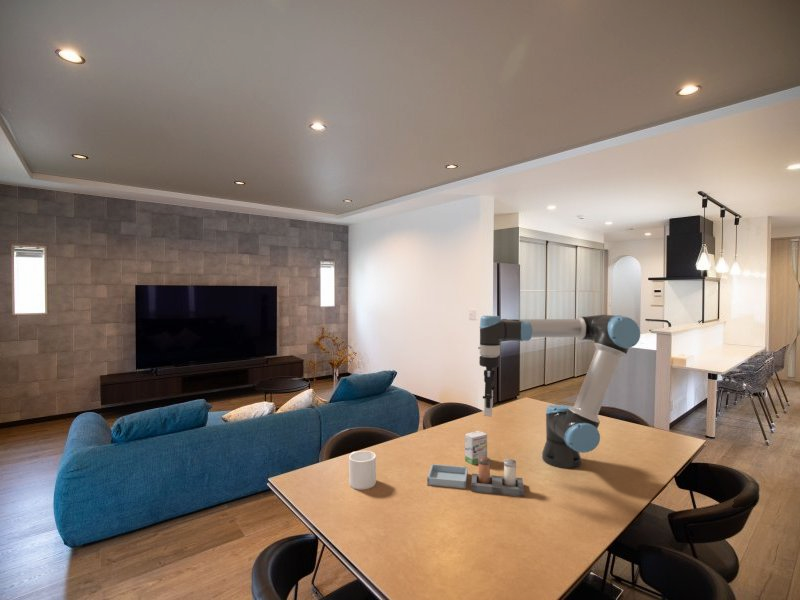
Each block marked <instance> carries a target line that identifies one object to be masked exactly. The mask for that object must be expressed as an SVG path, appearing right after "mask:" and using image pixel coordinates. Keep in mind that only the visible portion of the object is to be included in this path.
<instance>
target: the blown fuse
mask: <svg viewBox="0 0 800 600" xmlns="http://www.w3.org/2000/svg"><path fill="white" fill-rule="evenodd" d="M477 464H478V474H479V483H481V484H490V475H491V458H489V457H488V456H487V457H479V458H478V463H477Z"/></svg>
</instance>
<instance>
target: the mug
mask: <svg viewBox="0 0 800 600" xmlns="http://www.w3.org/2000/svg"><path fill="white" fill-rule="evenodd" d="M376 456H377V455H376V453H375V452H373V451H370V450H359V451H352V452H351V453H350V454H349V456H348V484H349V486H350V488H351V489H354V490H358V491H364V490H369V489H371V488H374V486H375V485H376V484H377V457H376Z"/></svg>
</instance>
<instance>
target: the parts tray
mask: <svg viewBox="0 0 800 600" xmlns="http://www.w3.org/2000/svg"><path fill="white" fill-rule="evenodd" d="M468 470H469V469H468V466H460V465H459V466H457V465H446V464H436V463H432V464H431V466H430V469H429V471H428V475H427V478H426V480H427V482H426V484H427V487H429V486H431V487H432V486H433V487H434V486H435V487H442V488H453V489H463V490H466V489H467V480H468Z"/></svg>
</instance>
